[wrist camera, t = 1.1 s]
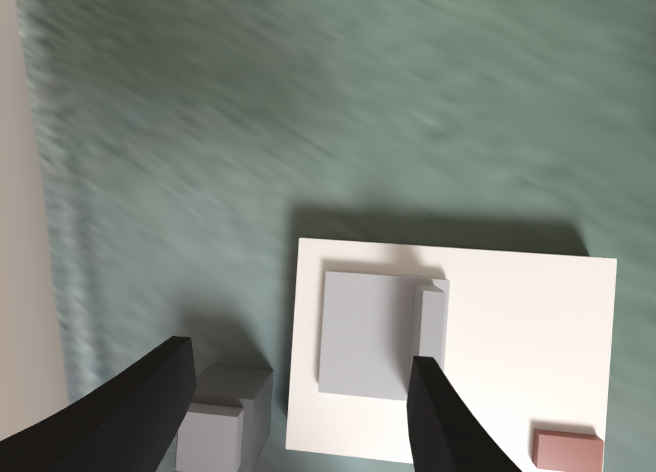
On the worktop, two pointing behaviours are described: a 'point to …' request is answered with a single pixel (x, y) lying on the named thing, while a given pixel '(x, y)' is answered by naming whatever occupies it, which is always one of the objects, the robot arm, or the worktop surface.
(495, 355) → the socket plate
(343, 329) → the shutter
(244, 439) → the plug
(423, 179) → the worktop surface
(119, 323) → the worktop surface
